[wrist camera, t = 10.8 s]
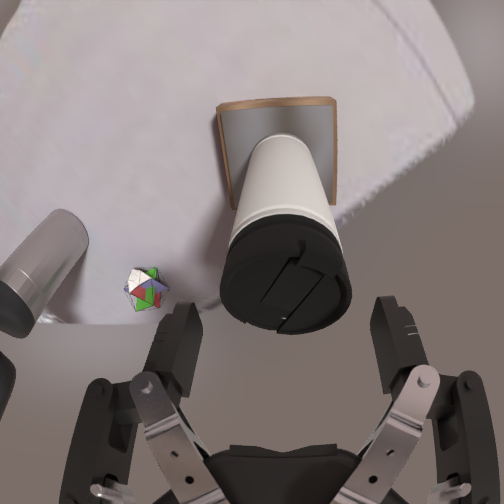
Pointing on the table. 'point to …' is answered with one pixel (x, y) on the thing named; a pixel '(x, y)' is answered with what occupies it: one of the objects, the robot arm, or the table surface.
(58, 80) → the table surface
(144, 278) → the geometric puzzle
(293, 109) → the square wooden framed mirror
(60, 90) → the table surface
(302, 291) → the travel mug
